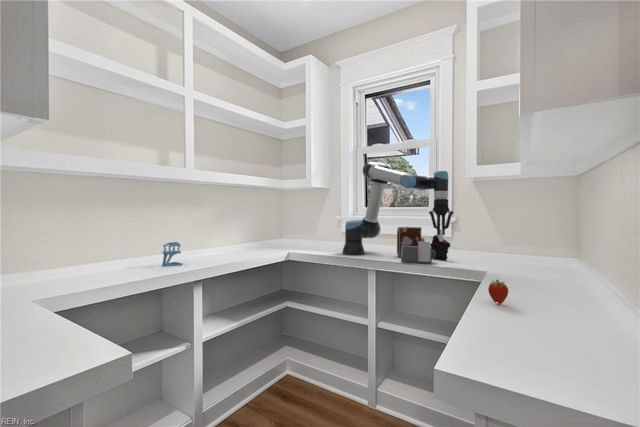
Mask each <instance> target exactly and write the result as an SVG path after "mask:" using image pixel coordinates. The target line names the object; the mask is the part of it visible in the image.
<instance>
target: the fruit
mask: <svg viewBox="0 0 640 427" xmlns="http://www.w3.org/2000/svg"><path fill="white" fill-rule="evenodd" d="M499 279H500V278H499V277H498V278H497V279H496V280H493V279H491V282H490V284H489V285H488V293H489V294H488V295H489V296H490V297H491V299H492V300H493V302H494V303H495V302H498V303H501V304H503V303H504V302H505V301H506V299H507V297H508V294H509V287H508V286H507V284H505V281H501V282H500V280H499Z"/></svg>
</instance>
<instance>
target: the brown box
mask: <svg viewBox="0 0 640 427" xmlns="http://www.w3.org/2000/svg"><path fill="white" fill-rule="evenodd" d="M396 235H397V236H396V253H397V256H398V257H399V258H401V246H405V245H409V246H418V241H420V242H426V241H425V238H424V237H422V226H408V225H407V226H398V227H397V231H396Z"/></svg>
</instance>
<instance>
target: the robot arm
mask: <svg viewBox="0 0 640 427" xmlns="http://www.w3.org/2000/svg"><path fill="white" fill-rule="evenodd" d="M362 175H363V176H364V177H365V178H366V179H369V180H370V182H371V187H370V192H369V197H368V201H367V207H366V212H365V215H364V217H362V219H354V220H347V221H346V222H345V227H344V229H345V230H344V231H345V235H344V236H345V241H344V245H343V249H342V254H343V255H349V256H362V255H365V248H364V246H363V239H373V238H376V237H378V236H379V235H380V233H381V224H380V223H379V219H378V216H379V213H380V207H381V203H382V198H383V193H384V190H385V187H386V186H387V184H388V183H390V184H393V185H397V186H401V187H402V188H404V189H415V190H418V191H425V190H433V208H432V210H430V211H428V214H429V215H430V218H431V221H432V222H431V223H432V226H433V229H436V235H438V236H439V241H443V239H444V236H445V235H446V233H445V232H446V229H449V226H450V223H451V219H452V215H453V214H454V211H452V210H451V209H450V207H449V199H448V198H449V180H450V179H449V173H448V171H446V170H437V171H434V172H433V175H431V176H423V175H415V174H410V173H405V172H401V171H398V170H393V168H392V166H391V165H390V164H388V163H385V162H377V161H368V162H366V163H365V164H364V165H363V166H362ZM447 214H448V215H447ZM435 215H436V219H435ZM446 215H447V218H446Z"/></svg>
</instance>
